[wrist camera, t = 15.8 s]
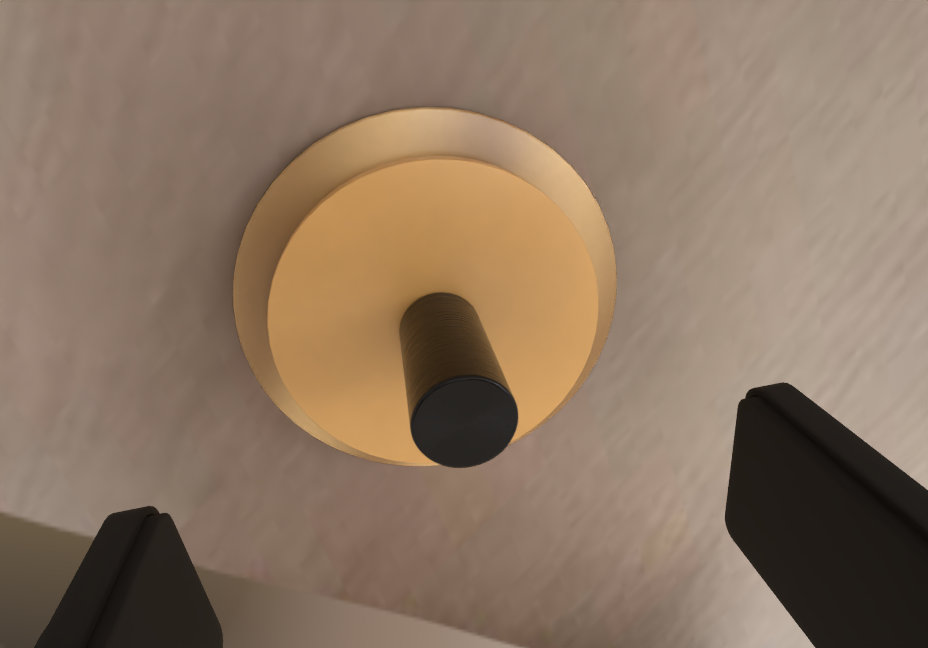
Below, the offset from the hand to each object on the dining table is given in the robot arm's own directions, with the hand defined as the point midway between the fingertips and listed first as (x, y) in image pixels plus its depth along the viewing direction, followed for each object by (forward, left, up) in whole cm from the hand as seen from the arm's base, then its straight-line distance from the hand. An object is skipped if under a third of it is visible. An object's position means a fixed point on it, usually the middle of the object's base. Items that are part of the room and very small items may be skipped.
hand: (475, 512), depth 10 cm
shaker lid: (0, 0, -9) cm, 9 cm away
